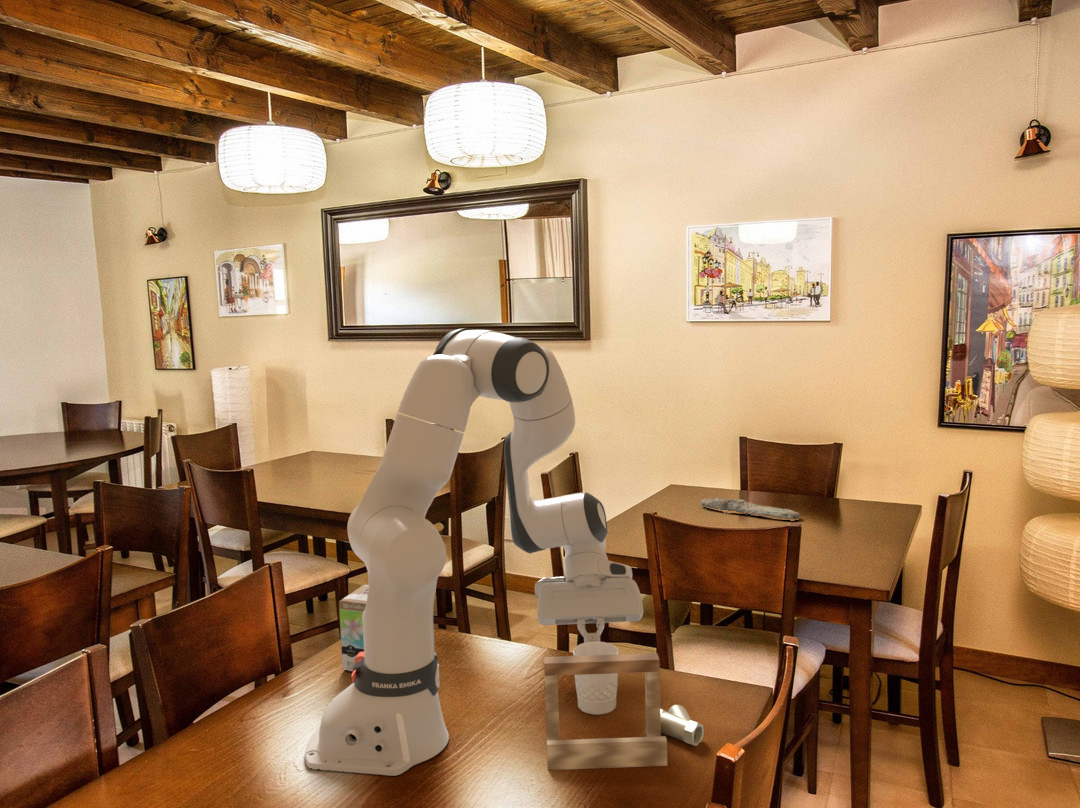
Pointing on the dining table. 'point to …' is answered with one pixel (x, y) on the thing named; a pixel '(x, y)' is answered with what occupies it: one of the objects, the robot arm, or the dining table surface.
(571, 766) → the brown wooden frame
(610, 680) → the white cup
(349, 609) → the tea box
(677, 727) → the pipe fitting
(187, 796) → the dining table surface
